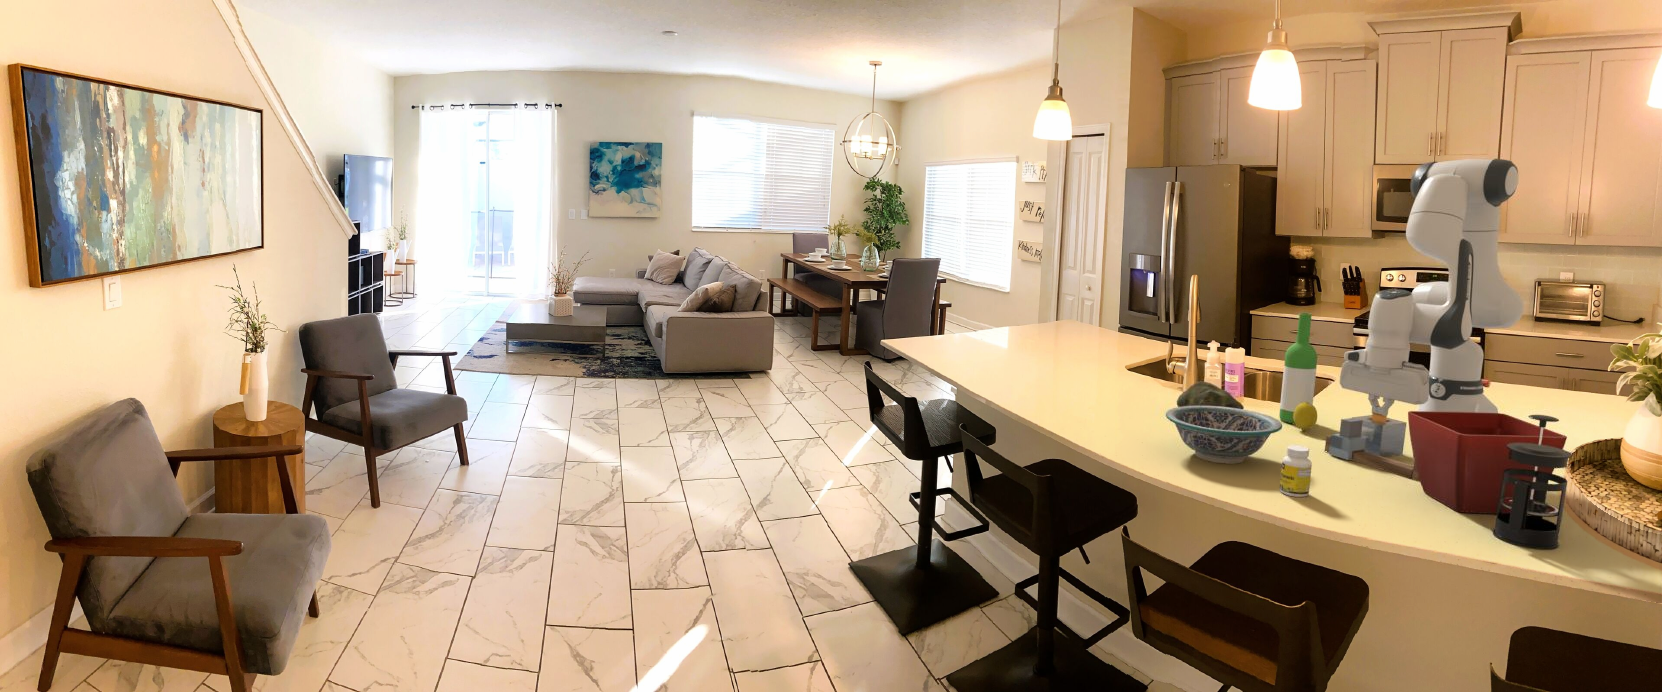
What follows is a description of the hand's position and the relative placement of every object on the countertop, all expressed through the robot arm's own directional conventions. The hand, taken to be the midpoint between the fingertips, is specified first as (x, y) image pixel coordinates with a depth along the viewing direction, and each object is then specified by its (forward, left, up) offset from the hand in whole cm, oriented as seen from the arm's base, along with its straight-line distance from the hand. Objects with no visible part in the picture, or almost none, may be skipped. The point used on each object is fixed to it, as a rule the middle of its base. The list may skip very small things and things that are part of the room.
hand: (1379, 414), depth 206 cm
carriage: (+10, +1, -9) cm, 14 cm away
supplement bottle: (+44, +15, -10) cm, 47 cm away
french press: (+26, +48, -10) cm, 55 cm away
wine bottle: (-6, -28, -10) cm, 30 cm away
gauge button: (0, 0, -5) cm, 5 cm away
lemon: (0, -20, -10) cm, 22 cm away
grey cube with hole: (0, 0, -9) cm, 9 cm away
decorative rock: (+12, -41, -10) cm, 44 cm away
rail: (+10, +7, -9) cm, 15 cm away
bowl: (+39, -10, -10) cm, 41 cm away
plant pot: (+15, +32, -10) cm, 37 cm away
